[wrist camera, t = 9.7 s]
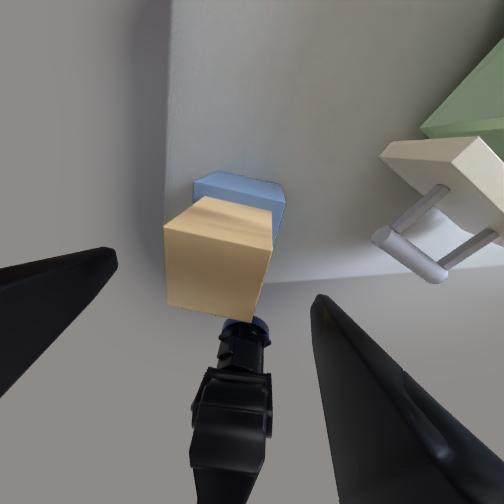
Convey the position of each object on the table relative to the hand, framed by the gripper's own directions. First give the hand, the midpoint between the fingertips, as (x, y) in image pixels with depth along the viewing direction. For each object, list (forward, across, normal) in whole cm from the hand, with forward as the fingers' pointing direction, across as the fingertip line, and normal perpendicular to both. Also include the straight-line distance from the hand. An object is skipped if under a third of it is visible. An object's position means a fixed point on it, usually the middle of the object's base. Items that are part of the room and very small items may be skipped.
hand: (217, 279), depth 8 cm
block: (+5, 0, 0) cm, 5 cm away
